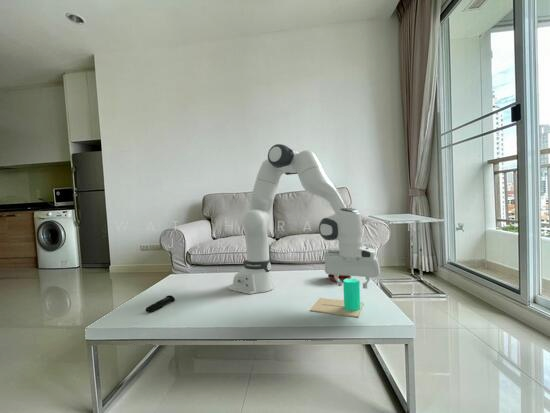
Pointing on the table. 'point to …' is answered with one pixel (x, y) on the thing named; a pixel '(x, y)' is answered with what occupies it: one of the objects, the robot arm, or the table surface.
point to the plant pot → (341, 277)
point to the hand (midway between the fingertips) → (352, 287)
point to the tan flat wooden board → (334, 307)
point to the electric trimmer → (160, 304)
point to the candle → (351, 294)
